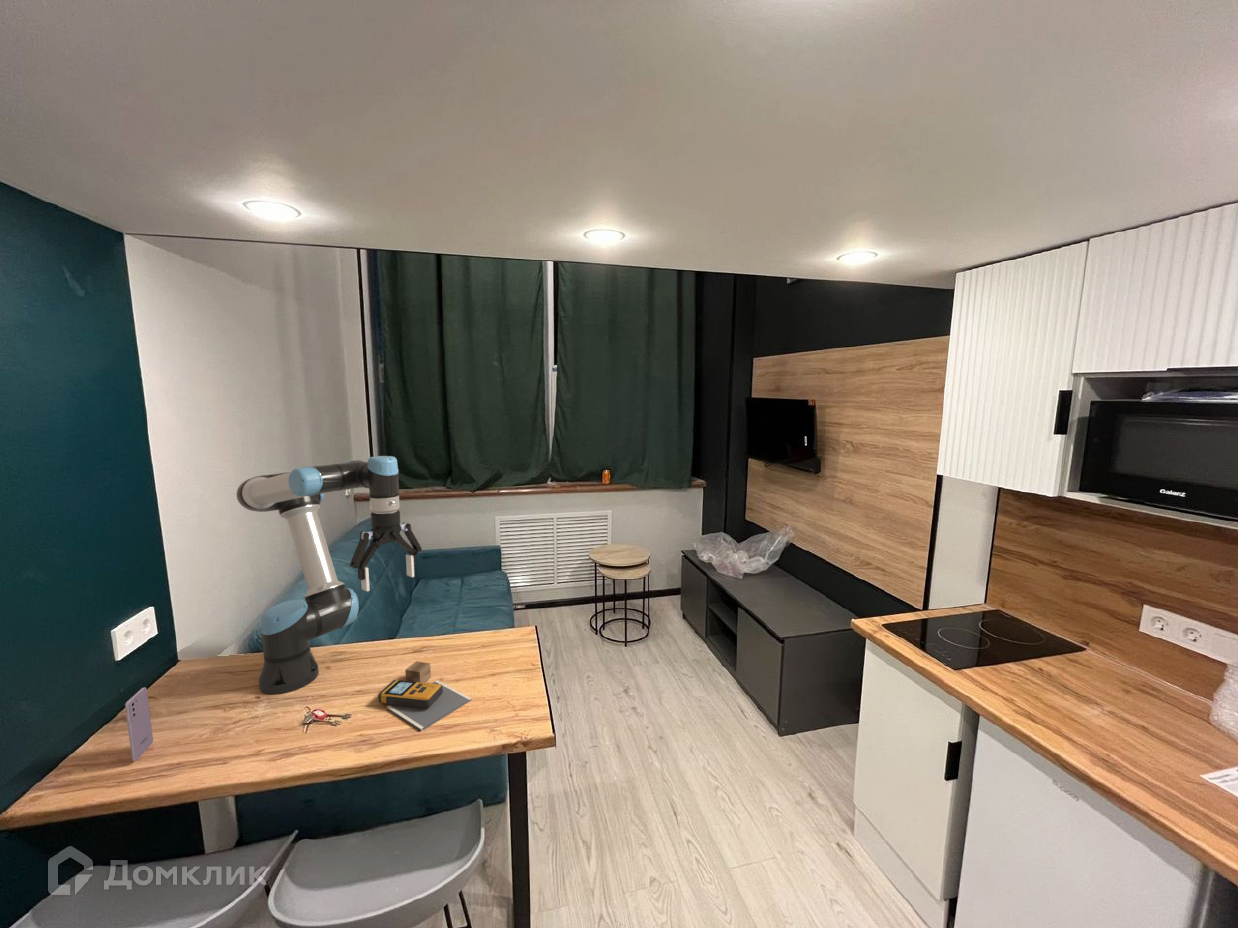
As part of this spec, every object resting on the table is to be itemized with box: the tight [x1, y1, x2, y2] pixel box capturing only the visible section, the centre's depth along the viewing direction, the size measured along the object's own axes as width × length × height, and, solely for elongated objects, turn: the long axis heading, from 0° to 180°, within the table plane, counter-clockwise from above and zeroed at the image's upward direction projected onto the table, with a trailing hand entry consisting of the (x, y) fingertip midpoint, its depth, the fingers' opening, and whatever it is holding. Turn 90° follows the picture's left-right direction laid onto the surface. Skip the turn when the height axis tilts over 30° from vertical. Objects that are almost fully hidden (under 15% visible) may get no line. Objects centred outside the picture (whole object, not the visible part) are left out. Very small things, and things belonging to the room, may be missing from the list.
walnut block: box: [404, 660, 432, 683], centre depth 148 cm, size 5×5×5 cm
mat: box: [386, 680, 472, 732], centre depth 137 cm, size 16×16×1 cm
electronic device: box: [377, 679, 443, 708], centre depth 139 cm, size 8×16×3 cm, turn 79°
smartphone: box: [124, 687, 154, 762], centre depth 117 cm, size 7×1×15 cm, turn 18°
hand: (389, 582), depth 141 cm, fingers open, 13 cm apart
